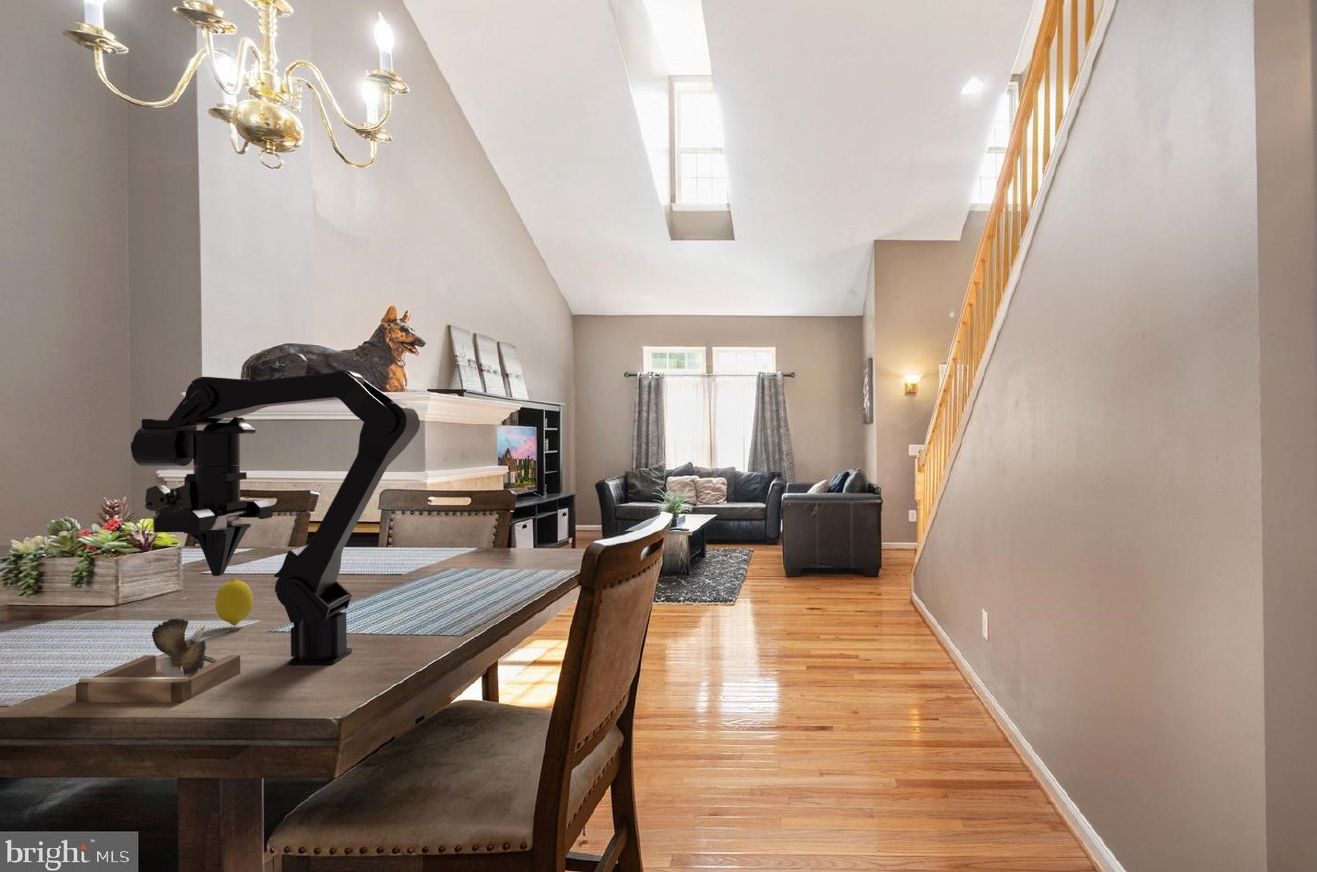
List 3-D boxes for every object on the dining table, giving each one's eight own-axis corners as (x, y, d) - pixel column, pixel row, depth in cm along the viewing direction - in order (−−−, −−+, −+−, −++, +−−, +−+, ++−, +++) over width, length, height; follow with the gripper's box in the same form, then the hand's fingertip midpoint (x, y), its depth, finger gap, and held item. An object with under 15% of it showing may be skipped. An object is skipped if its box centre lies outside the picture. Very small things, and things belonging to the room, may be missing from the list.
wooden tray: (240, 673, 100) (240, 651, 100) (183, 704, 88) (183, 679, 88) (145, 673, 100) (144, 652, 100) (75, 704, 89) (75, 680, 89)
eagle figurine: (236, 637, 102) (220, 630, 94) (208, 689, 99) (189, 687, 91) (180, 618, 101) (158, 610, 93) (150, 671, 98) (125, 667, 90)
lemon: (212, 625, 126) (211, 578, 126) (248, 619, 130) (247, 574, 130) (219, 631, 122) (219, 582, 122) (257, 625, 126) (256, 578, 126)
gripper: (202, 464, 116) (203, 564, 116) (112, 469, 97) (112, 589, 97) (273, 463, 116) (274, 564, 116) (196, 468, 97) (197, 588, 97)
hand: (217, 575), depth 106 cm, fingers closed
